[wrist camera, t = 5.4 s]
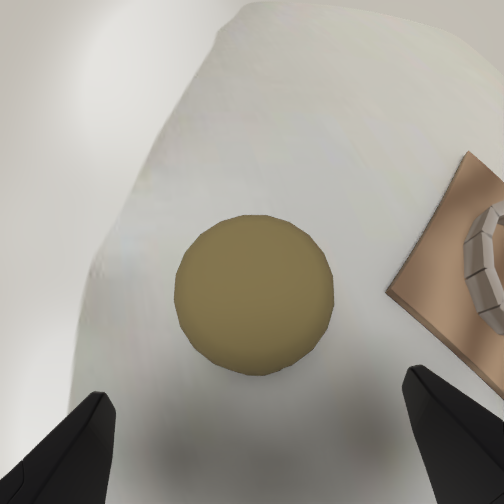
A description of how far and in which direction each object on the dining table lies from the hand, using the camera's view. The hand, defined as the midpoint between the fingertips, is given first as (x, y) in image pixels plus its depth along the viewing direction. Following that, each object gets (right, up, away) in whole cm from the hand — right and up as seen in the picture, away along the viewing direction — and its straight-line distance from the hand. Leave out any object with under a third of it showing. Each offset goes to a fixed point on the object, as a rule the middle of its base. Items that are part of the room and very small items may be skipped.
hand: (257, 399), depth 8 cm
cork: (0, -1, +11) cm, 11 cm away
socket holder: (+20, +2, +11) cm, 23 cm away
